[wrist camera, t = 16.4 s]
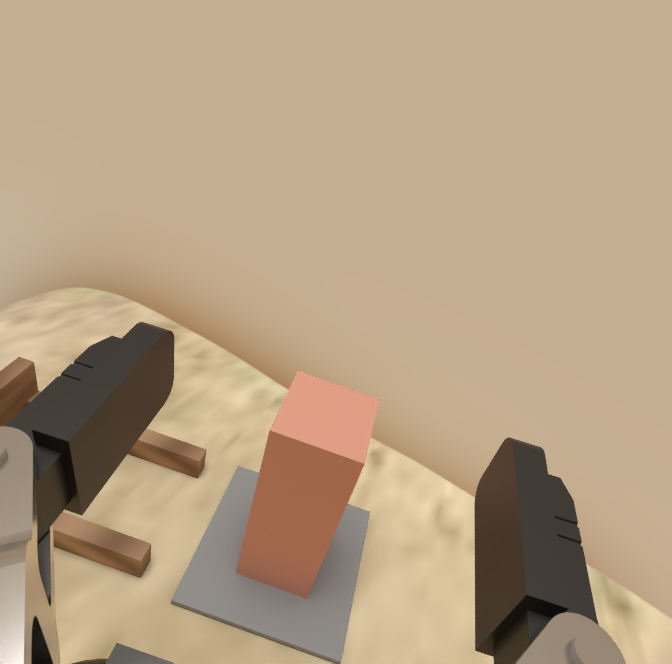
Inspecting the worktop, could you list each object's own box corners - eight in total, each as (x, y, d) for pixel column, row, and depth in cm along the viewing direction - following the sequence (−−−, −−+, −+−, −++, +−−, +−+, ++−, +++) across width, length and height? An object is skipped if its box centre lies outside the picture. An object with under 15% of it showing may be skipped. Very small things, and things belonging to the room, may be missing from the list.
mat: (368, 514, 40) (369, 511, 39) (339, 664, 30) (340, 661, 30) (237, 468, 40) (238, 465, 40) (171, 603, 31) (171, 599, 31)
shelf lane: (204, 466, 39) (210, 423, 37) (140, 577, 32) (141, 533, 29) (17, 400, 40) (9, 353, 37) (-90, 494, 32) (-111, 443, 30)
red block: (325, 533, 37) (379, 399, 29) (306, 598, 33) (364, 463, 25) (261, 510, 37) (298, 370, 29) (235, 572, 33) (269, 430, 25)
